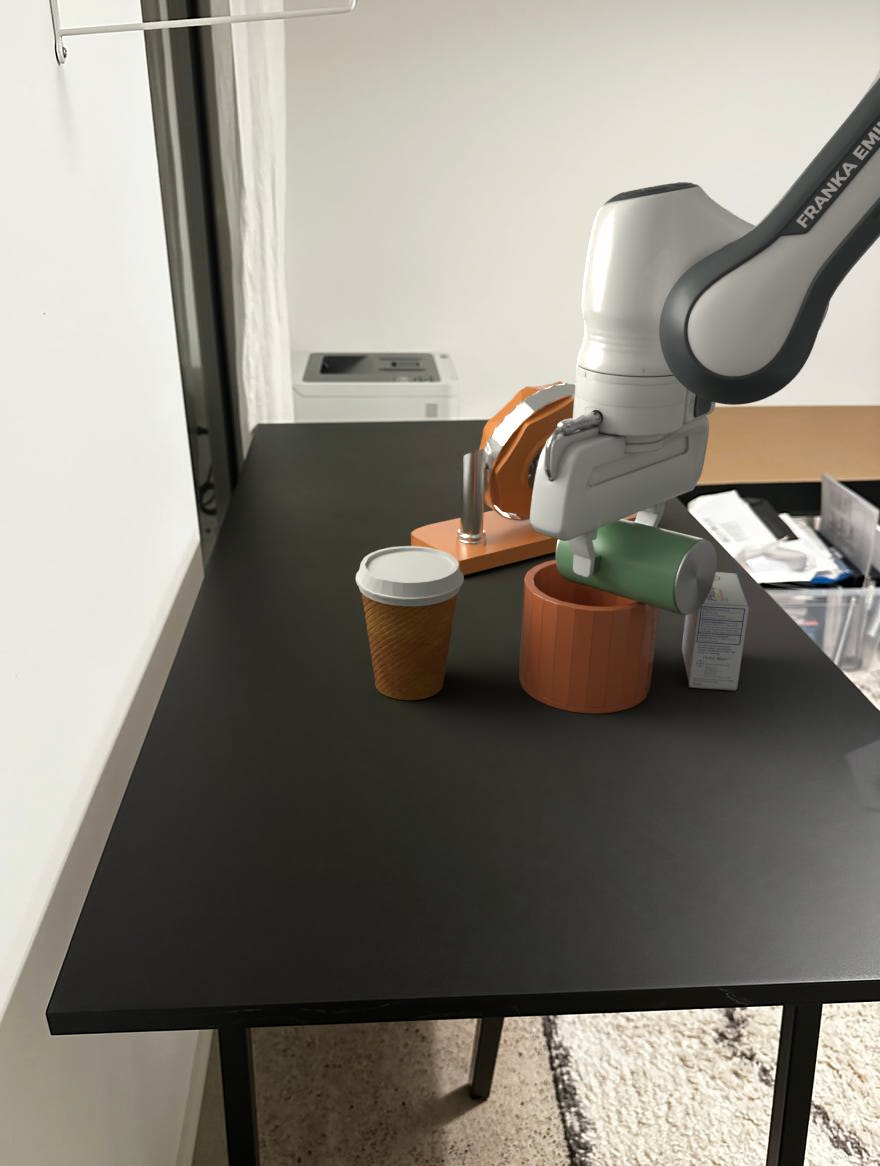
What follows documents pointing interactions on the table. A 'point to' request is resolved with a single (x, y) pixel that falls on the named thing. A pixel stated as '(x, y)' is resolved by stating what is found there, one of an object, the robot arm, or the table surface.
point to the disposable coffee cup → (409, 617)
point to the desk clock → (503, 485)
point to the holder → (584, 644)
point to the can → (647, 566)
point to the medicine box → (716, 636)
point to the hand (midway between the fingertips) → (613, 561)
